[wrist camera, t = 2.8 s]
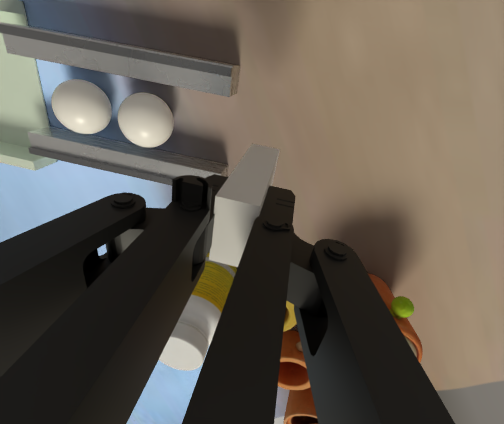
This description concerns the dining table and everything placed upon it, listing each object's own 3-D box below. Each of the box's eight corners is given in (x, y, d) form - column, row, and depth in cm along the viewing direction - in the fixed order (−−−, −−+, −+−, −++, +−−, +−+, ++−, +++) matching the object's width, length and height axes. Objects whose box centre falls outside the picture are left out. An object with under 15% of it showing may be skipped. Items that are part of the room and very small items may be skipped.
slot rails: (54, 146, 25) (29, 154, 22) (28, 25, 20) (-6, 21, 18) (225, 184, 23) (217, 196, 21) (240, 65, 19) (231, 66, 17)
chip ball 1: (81, 123, 23) (44, 133, 20) (73, 73, 21) (31, 75, 18) (123, 132, 23) (93, 144, 19) (119, 82, 21) (85, 86, 18)
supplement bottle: (194, 238, 27) (142, 319, 18) (246, 254, 27) (219, 343, 18) (188, 277, 30) (141, 363, 21) (236, 292, 29) (207, 385, 21)
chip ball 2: (137, 135, 23) (108, 147, 19) (134, 85, 21) (102, 90, 17) (181, 144, 22) (159, 158, 19) (182, 95, 20) (158, 101, 17)
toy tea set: (229, 257, 28) (195, 342, 19) (395, 239, 24) (445, 337, 15) (282, 402, 39) (276, 495, 31) (402, 407, 35) (432, 517, 26)
